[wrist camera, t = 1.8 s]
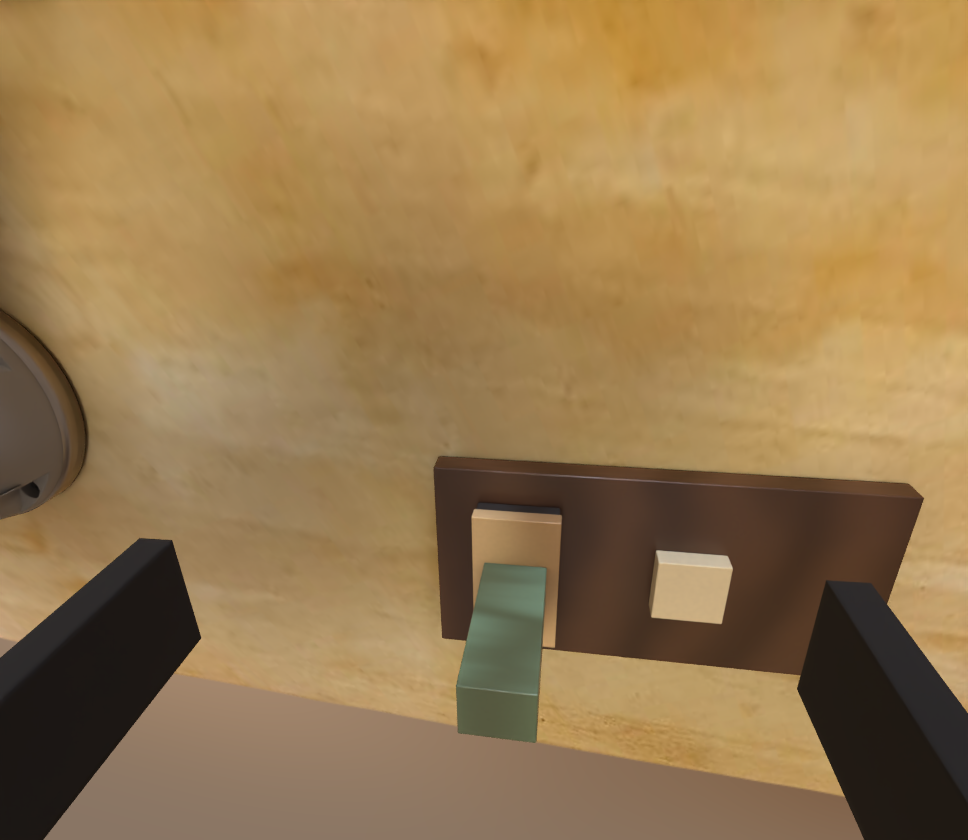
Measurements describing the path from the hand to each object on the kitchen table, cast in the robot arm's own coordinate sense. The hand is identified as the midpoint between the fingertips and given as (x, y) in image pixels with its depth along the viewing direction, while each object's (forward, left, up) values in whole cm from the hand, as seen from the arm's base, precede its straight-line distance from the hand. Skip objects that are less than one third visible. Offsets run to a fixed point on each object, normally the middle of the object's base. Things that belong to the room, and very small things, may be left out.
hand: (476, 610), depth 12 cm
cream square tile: (+9, -14, -19) cm, 25 cm away
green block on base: (-1, -14, -19) cm, 24 cm away
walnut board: (+7, -14, -21) cm, 26 cm away
